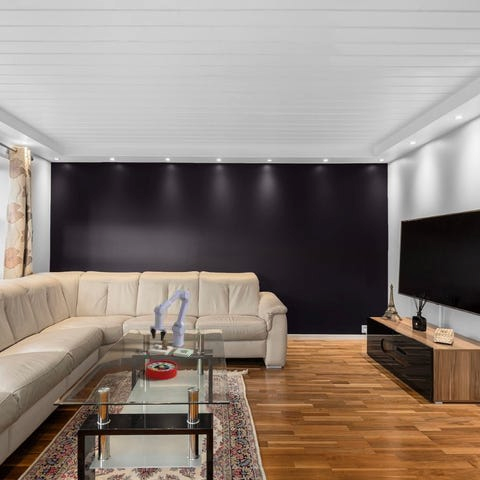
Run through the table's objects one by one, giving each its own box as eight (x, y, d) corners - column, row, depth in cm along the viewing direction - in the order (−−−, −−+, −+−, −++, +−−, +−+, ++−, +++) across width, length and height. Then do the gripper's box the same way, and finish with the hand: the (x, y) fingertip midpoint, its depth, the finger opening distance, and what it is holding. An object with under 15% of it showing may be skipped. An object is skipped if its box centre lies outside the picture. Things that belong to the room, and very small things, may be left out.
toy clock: (143, 370, 259) (149, 359, 279) (142, 379, 259) (148, 367, 279) (175, 372, 260) (178, 360, 280) (174, 381, 260) (178, 369, 280)
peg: (162, 350, 316) (163, 339, 315) (167, 350, 315) (168, 340, 314) (160, 351, 312) (161, 341, 311) (165, 352, 311) (166, 342, 310)
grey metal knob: (154, 348, 317) (154, 345, 317) (159, 349, 316) (159, 345, 316) (152, 350, 313) (152, 346, 313) (157, 351, 312) (157, 347, 312)
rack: (178, 350, 317) (178, 347, 317) (193, 352, 315) (193, 349, 315) (172, 355, 306) (173, 352, 305) (188, 357, 303) (188, 354, 303)
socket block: (155, 346, 322) (155, 344, 322) (172, 349, 319) (172, 346, 319) (148, 352, 308) (148, 349, 308) (166, 355, 306) (166, 352, 305)
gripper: (147, 321, 313) (146, 339, 313) (163, 324, 306) (162, 342, 307) (153, 319, 319) (152, 336, 320) (169, 322, 313) (168, 340, 313)
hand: (157, 339), depth 314 cm, fingers open, 7 cm apart
